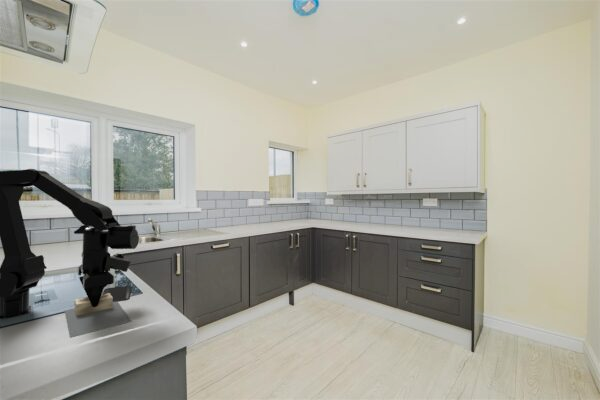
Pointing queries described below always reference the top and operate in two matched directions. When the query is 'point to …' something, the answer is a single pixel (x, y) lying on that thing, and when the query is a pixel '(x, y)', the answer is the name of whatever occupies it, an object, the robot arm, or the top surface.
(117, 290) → the phone
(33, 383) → the top surface
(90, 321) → the mat
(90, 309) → the beige wooden block
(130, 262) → the robot arm
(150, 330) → the top surface
